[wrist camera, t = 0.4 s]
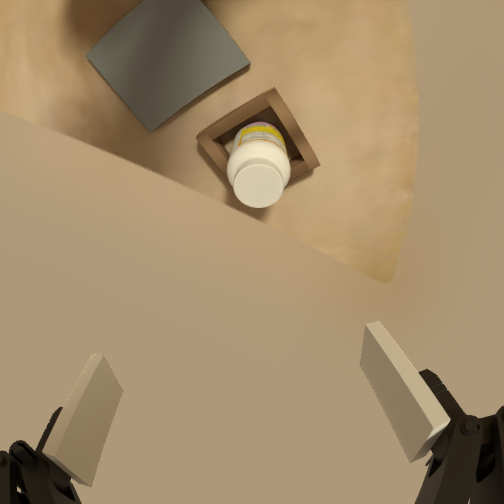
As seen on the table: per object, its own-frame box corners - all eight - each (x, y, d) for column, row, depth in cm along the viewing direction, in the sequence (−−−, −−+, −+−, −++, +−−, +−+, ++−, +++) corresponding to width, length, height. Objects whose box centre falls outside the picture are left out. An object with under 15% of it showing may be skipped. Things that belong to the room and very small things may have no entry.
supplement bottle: (261, 174, 38) (261, 228, 28) (224, 146, 35) (207, 191, 26) (294, 141, 34) (308, 185, 25) (256, 110, 32) (253, 140, 22)
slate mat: (89, 54, 25) (85, 55, 24) (179, -23, 19) (177, -25, 18) (152, 130, 33) (149, 132, 33) (250, 63, 27) (250, 63, 27)
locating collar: (199, 132, 34) (195, 137, 32) (274, 87, 29) (275, 89, 28) (246, 194, 40) (245, 203, 38) (317, 158, 36) (320, 165, 34)
